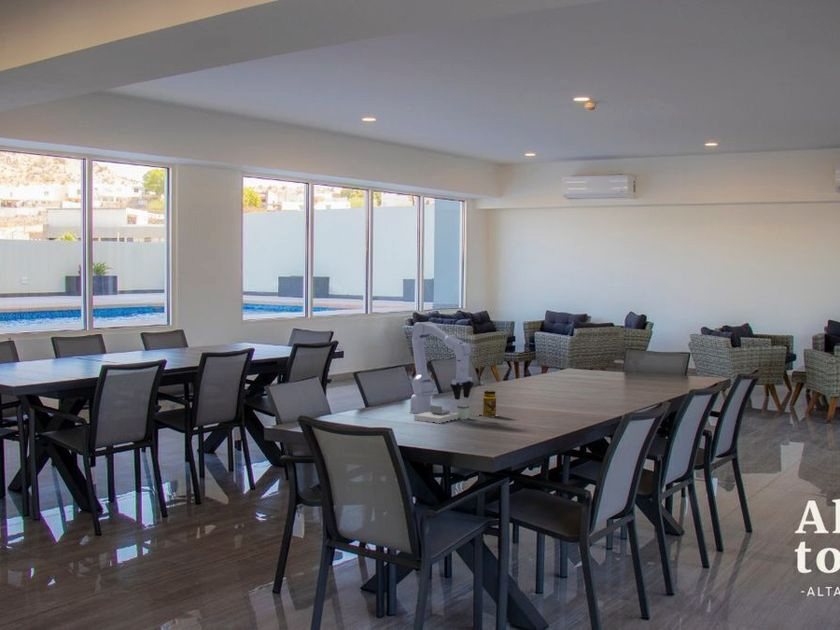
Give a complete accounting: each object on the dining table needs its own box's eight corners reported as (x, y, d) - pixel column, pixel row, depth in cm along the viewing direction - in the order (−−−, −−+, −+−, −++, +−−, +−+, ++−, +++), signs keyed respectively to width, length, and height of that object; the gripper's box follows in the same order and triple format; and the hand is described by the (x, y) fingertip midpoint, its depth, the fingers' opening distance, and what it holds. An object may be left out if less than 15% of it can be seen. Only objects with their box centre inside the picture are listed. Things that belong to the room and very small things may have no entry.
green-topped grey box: (457, 418, 392) (457, 405, 392) (461, 417, 396) (462, 404, 395) (464, 419, 390) (464, 406, 390) (468, 418, 393) (469, 405, 393)
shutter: (429, 413, 390) (429, 405, 390) (438, 411, 396) (438, 403, 396) (440, 414, 386) (441, 406, 386) (450, 412, 392) (450, 405, 392)
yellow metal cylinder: (492, 417, 396) (493, 392, 395) (476, 416, 400) (476, 391, 399) (499, 415, 402) (499, 390, 402) (483, 414, 406) (483, 389, 406)
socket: (414, 420, 387) (414, 414, 387) (434, 415, 400) (434, 410, 400) (439, 423, 379) (439, 418, 379) (458, 418, 392) (458, 413, 392)
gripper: (461, 371, 381) (460, 401, 382) (478, 368, 393) (477, 397, 394) (448, 370, 386) (447, 399, 386) (465, 367, 397) (464, 395, 398)
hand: (461, 398), depth 390 cm, fingers open, 7 cm apart
